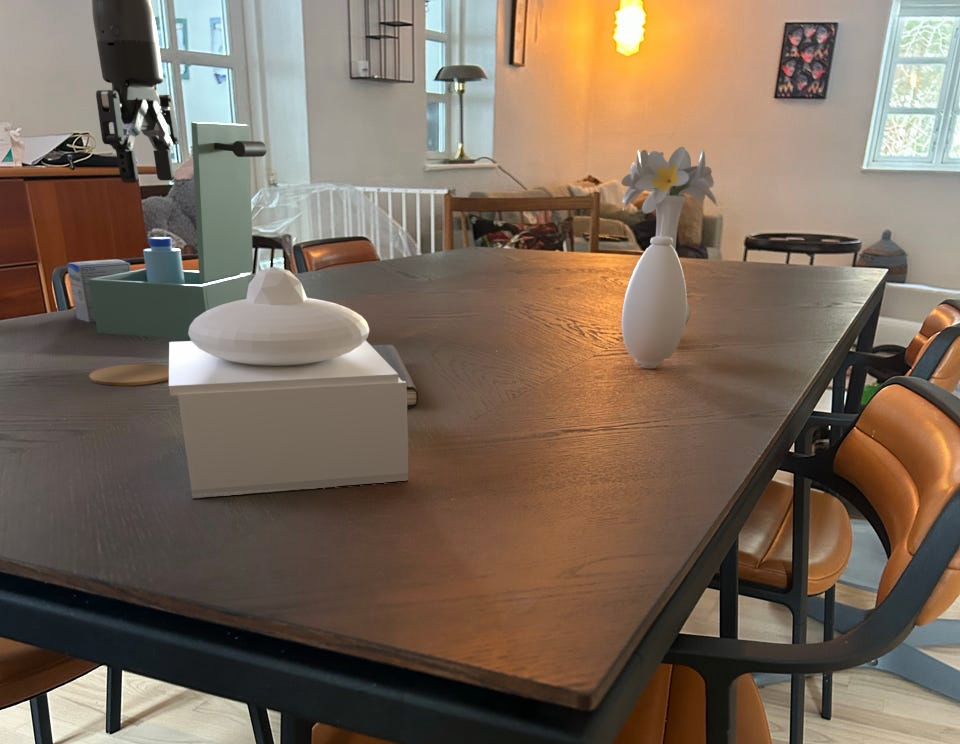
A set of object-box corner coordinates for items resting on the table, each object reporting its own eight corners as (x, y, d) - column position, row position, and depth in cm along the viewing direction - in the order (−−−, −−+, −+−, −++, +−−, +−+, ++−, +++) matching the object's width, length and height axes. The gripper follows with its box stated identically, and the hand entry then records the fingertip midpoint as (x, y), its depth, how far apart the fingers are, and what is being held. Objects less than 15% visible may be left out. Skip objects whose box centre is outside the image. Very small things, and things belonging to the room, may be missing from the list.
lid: (190, 121, 112) (229, 126, 111) (244, 124, 123) (279, 128, 122) (199, 281, 121) (234, 287, 120) (248, 270, 133) (280, 275, 132)
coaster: (74, 384, 105) (73, 380, 104) (112, 365, 113) (112, 362, 113) (158, 387, 104) (157, 383, 104) (190, 368, 113) (190, 365, 112)
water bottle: (149, 330, 130) (135, 239, 125) (163, 324, 135) (150, 236, 129) (183, 331, 130) (170, 240, 124) (195, 325, 135) (184, 236, 129)
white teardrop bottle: (635, 358, 122) (649, 210, 113) (689, 366, 118) (708, 213, 109) (607, 367, 116) (619, 213, 108) (663, 376, 112) (680, 216, 104)
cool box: (98, 338, 129) (87, 279, 125) (152, 322, 140) (144, 268, 137) (209, 346, 125) (202, 285, 121) (256, 329, 136) (251, 274, 133)
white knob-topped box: (408, 481, 76) (404, 279, 69) (185, 499, 72) (153, 285, 64) (370, 426, 91) (362, 254, 83) (183, 438, 86) (157, 257, 79)
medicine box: (126, 317, 144) (116, 258, 139) (139, 321, 141) (130, 261, 137) (77, 323, 139) (65, 262, 135) (89, 327, 136) (78, 265, 132)
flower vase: (675, 325, 145) (695, 147, 133) (714, 347, 129) (741, 147, 117) (595, 325, 144) (608, 145, 132) (625, 348, 128) (642, 145, 116)
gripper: (134, 45, 123) (153, 179, 131) (66, 34, 111) (92, 182, 119) (183, 44, 122) (200, 180, 129) (120, 33, 109) (143, 183, 117)
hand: (148, 181), depth 124 cm, fingers open, 8 cm apart
